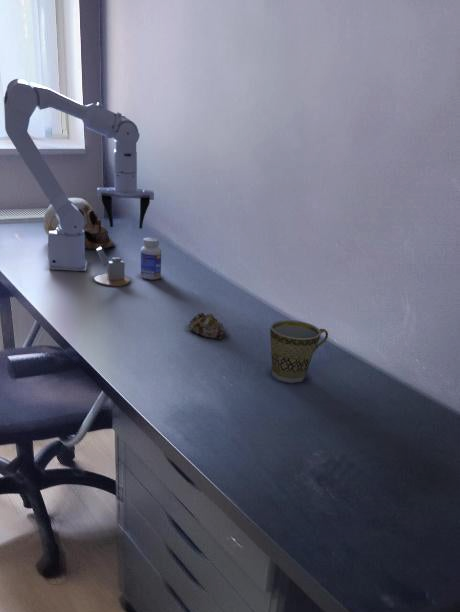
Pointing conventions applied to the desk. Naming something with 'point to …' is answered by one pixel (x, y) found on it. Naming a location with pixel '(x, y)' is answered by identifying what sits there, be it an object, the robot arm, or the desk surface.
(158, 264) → the pill bottle
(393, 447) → the desk surface
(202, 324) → the mineral rock
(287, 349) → the ceramic cup
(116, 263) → the lighter
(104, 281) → the coaster
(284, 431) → the desk surface
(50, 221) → the brown skull
